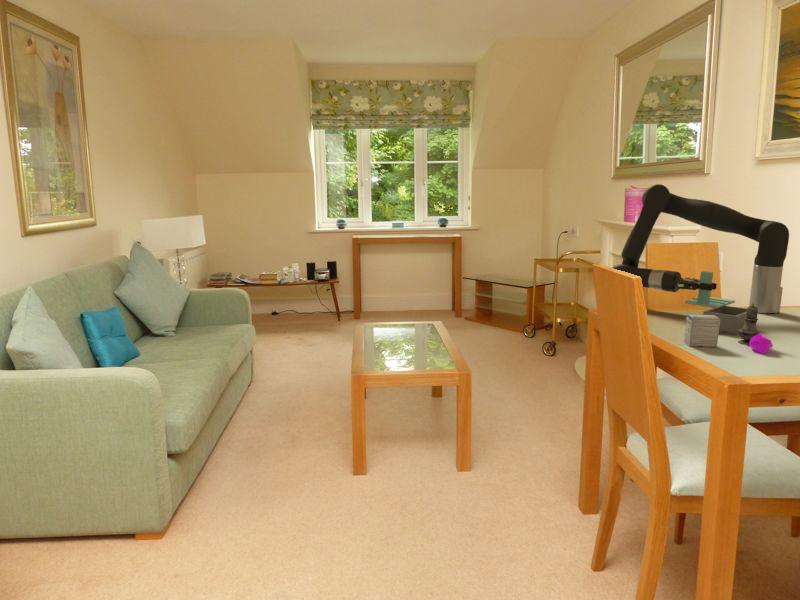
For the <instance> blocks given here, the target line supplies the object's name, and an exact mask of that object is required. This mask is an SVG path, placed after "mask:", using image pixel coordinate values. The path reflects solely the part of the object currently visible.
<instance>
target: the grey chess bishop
mask: <svg viewBox="0 0 800 600" xmlns="http://www.w3.org/2000/svg"><path fill="white" fill-rule="evenodd" d="M746 309H747V311H746V317H745V318H744V319H745V325H744V327H743V329H739V330H738V331H739V334H738V335H739V336H740V338H741V339H740V340H738V341H737V343H738V344H740V345H745V346H750V345H749V342H750V339H751V338H752V337H754V336H756V335H757V334H759V333H761V334H762V332H761V331H759V330H758V329H757V322H758V321H759V319H758V314H759V313H758V309H757V308H756V307H755V306H754V304H752V306H750V307H749V306H748V307H747V308H746Z"/></svg>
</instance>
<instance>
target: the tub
mask: <svg viewBox="0 0 800 600" xmlns="http://www.w3.org/2000/svg"><path fill="white" fill-rule="evenodd" d="M746 311H747V308H745V307H738V306H737V307H736V306H730V305H726V306H724V305H721V306H718V307H715V308H710V309H707V310H704V311H703V314H702V315H714V316H716V317H718V318H719V319H720V326H719V334H724V335H730V336H737V335H739V331H738V330H739V329H743V327H744V325H745V319H744V318H745V317H746Z"/></svg>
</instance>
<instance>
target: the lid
mask: <svg viewBox="0 0 800 600" xmlns="http://www.w3.org/2000/svg"><path fill="white" fill-rule="evenodd" d="M699 277H700V278H699V280H700V283H705V284H712V283H713V277H714V272H713V271H708V270H704V271H701V272H700V276H699ZM697 293H698V294H697V297H692V298H691V299H687V300H685V301H684V304H688V305H692V306H693V305H694V306H699V307H705V308H710V309H712V308H715V307H718V306H721V305H724V306H730V305H732V304H735V303H736V300H733V299H728V298H719V297H713V296H711V293H712V290H711V291H708V290H701V289H700V290H698V292H697Z"/></svg>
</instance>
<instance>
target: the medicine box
mask: <svg viewBox="0 0 800 600" xmlns="http://www.w3.org/2000/svg"><path fill="white" fill-rule="evenodd" d="M719 326H720V319H719V318H718V317H716V316H714V315H703V314H686V318H685V328H684V339H683V343H684V342H685V343H686V344H687V345H686V344H685V343H684V344H685V345H686V346H688V345H689V346H688V347H698V346H703V347H705V348H717V347H718V342H719V341H718V340H719V334H720V333H719ZM703 347H702V348H703Z"/></svg>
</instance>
